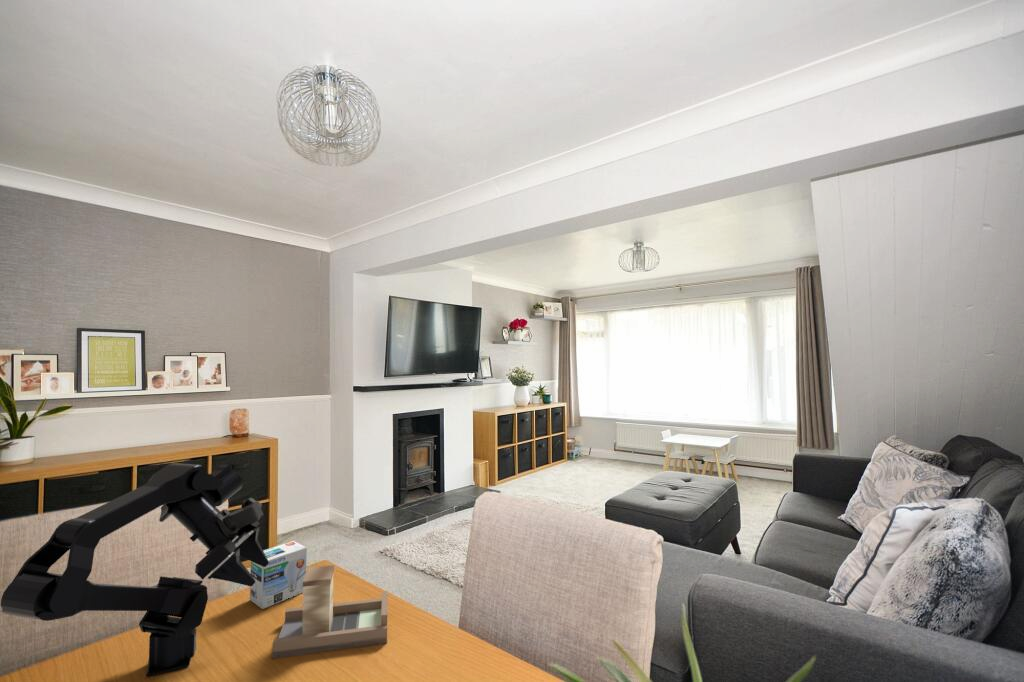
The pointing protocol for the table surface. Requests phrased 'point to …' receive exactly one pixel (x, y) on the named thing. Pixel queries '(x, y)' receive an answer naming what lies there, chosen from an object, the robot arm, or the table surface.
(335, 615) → the box
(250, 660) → the table surface
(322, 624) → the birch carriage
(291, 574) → the light bulb box
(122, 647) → the table surface
